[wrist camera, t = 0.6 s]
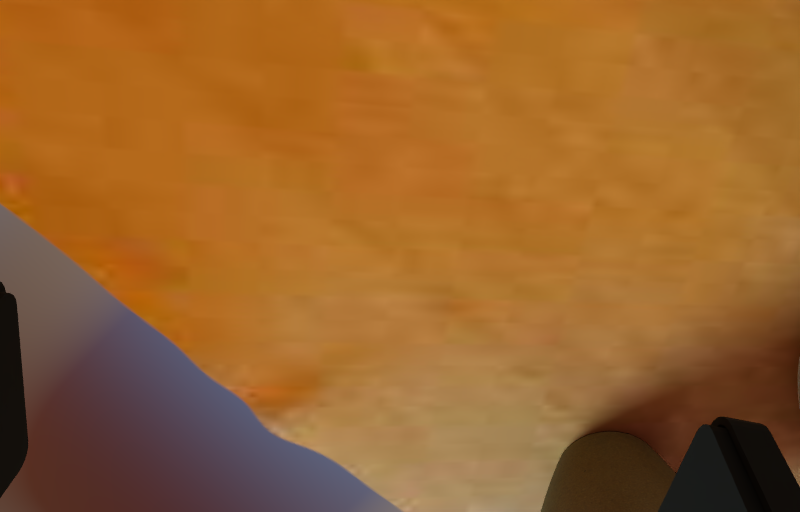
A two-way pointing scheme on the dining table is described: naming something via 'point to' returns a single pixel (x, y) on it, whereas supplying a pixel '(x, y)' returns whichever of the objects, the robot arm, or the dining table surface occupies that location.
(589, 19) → the dining table surface
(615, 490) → the plant pot
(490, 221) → the dining table surface
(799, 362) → the bowl
